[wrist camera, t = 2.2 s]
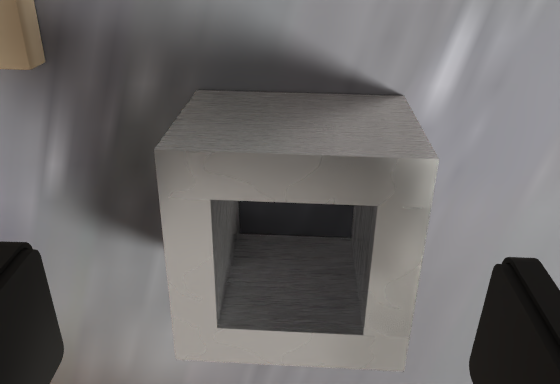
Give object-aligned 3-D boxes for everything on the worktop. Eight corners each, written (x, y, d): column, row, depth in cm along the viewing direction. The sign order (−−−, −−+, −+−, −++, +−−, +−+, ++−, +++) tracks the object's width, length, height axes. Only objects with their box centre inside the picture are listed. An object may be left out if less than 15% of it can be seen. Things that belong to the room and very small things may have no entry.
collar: (404, 95, 16) (439, 159, 12) (382, 268, 19) (404, 371, 15) (196, 90, 16) (154, 149, 12) (207, 260, 19) (175, 359, 15)
